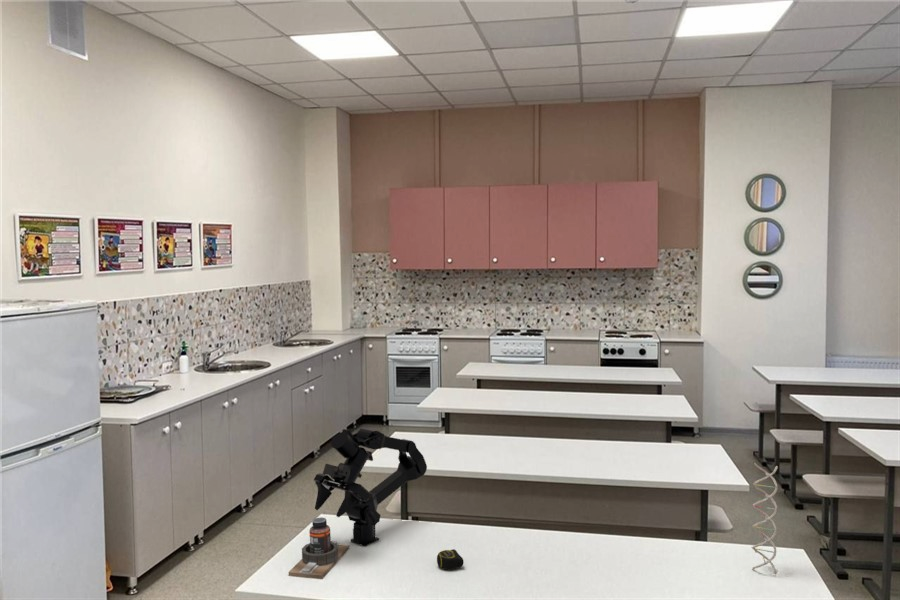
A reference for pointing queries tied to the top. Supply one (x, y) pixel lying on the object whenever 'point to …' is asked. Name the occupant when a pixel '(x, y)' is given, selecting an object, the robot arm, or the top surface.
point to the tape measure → (449, 559)
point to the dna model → (766, 518)
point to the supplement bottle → (320, 537)
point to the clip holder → (318, 561)
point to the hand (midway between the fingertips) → (326, 513)
